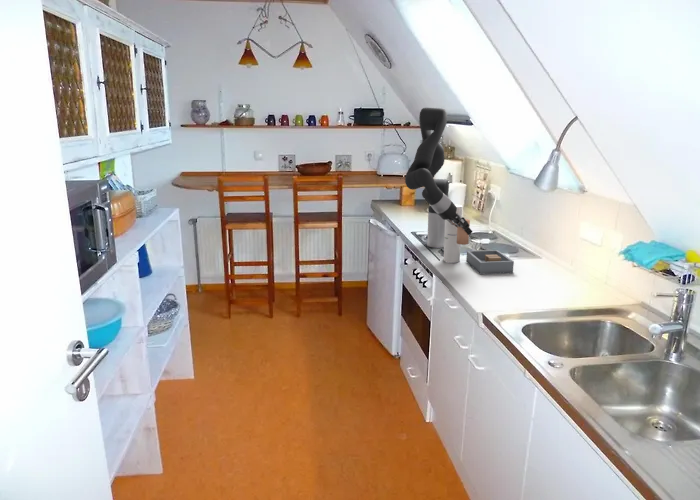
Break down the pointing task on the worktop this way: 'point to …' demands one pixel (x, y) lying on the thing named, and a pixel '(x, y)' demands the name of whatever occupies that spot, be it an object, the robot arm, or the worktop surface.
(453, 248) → the cylindrical container
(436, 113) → the robot arm
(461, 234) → the terracotta capsule
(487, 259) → the walnut cube
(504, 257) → the grey tote
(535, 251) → the worktop surface
